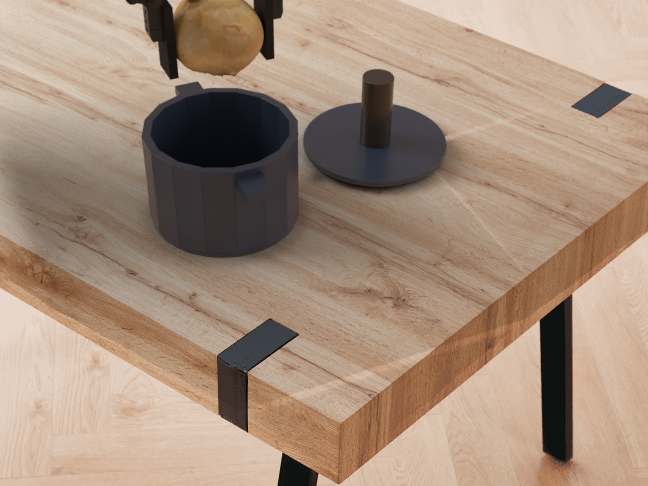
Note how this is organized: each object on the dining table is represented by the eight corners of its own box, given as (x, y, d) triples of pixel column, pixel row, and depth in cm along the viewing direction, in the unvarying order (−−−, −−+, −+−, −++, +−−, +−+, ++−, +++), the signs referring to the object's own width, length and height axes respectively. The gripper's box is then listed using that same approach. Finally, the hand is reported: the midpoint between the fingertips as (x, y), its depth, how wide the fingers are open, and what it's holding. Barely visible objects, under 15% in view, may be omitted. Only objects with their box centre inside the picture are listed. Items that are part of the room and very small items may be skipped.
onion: (240, 34, 98) (237, -40, 93) (279, 75, 93) (278, -1, 88) (157, 53, 94) (150, -23, 90) (193, 96, 89) (187, 18, 85)
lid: (339, 205, 106) (342, 130, 100) (281, 128, 115) (279, 55, 110) (471, 171, 111) (481, 98, 105) (404, 100, 121) (409, 29, 115)
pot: (189, 291, 95) (181, 205, 89) (125, 173, 108) (114, 91, 102) (333, 251, 100) (335, 167, 94) (256, 143, 113) (253, 63, 107)
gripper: (71, -185, 72) (112, 107, 87) (352, -215, 80) (344, 59, 95) (44, -218, 77) (87, 64, 92) (311, -244, 85) (310, 21, 100)
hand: (217, 61), depth 93 cm, fingers closed on onion, 8 cm apart
